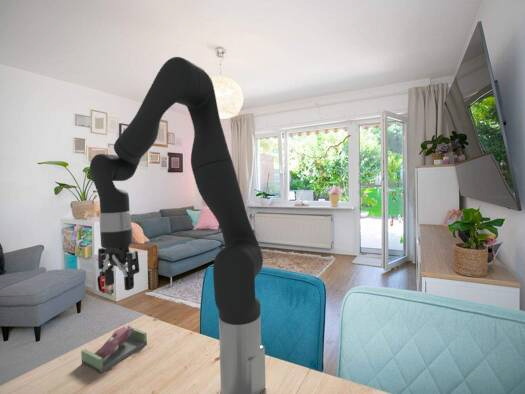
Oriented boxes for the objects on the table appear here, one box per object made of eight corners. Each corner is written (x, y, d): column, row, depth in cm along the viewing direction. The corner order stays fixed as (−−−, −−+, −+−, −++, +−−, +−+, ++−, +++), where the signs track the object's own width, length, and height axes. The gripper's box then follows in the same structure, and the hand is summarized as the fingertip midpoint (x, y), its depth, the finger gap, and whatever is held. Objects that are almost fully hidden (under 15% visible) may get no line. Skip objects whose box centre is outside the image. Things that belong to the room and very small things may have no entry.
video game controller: (105, 368, 69) (116, 345, 69) (91, 359, 70) (101, 336, 69) (129, 345, 79) (138, 324, 78) (116, 337, 80) (125, 317, 79)
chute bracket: (146, 344, 79) (146, 332, 78) (100, 373, 67) (99, 359, 67) (129, 337, 82) (128, 326, 82) (81, 363, 70) (81, 350, 70)
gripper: (145, 227, 73) (148, 286, 74) (113, 225, 80) (116, 278, 81) (119, 232, 67) (123, 296, 68) (86, 229, 73) (90, 287, 74)
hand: (119, 286), depth 74 cm, fingers open, 8 cm apart
